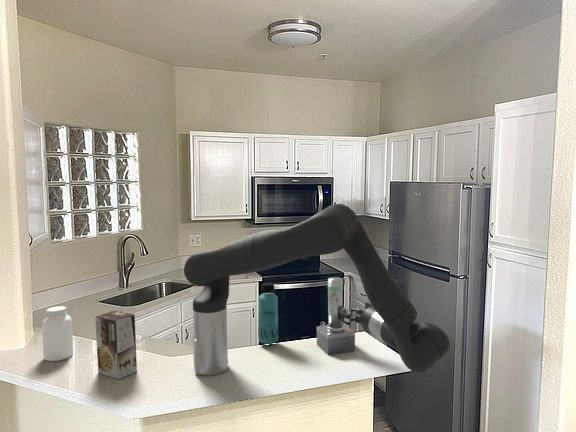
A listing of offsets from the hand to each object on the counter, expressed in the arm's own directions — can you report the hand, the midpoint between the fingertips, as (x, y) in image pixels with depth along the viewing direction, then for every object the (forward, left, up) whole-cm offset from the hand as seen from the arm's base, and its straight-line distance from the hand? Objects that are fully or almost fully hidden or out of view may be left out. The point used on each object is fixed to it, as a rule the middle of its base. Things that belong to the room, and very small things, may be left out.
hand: (352, 307), depth 118 cm
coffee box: (-64, +17, -16) cm, 68 cm away
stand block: (0, +12, -16) cm, 20 cm away
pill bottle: (-82, +35, -16) cm, 91 cm away
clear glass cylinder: (0, +12, -10) cm, 16 cm away
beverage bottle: (-19, +22, -16) cm, 33 cm away
